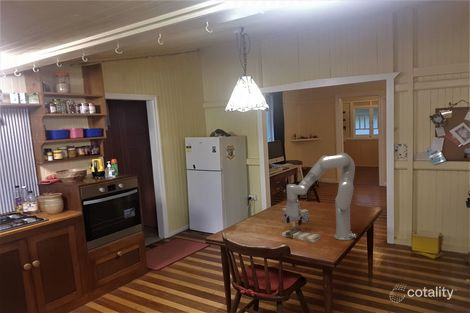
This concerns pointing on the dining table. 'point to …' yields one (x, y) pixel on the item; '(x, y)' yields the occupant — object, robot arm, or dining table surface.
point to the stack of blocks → (304, 219)
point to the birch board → (304, 236)
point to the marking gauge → (292, 230)
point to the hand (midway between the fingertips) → (294, 223)
